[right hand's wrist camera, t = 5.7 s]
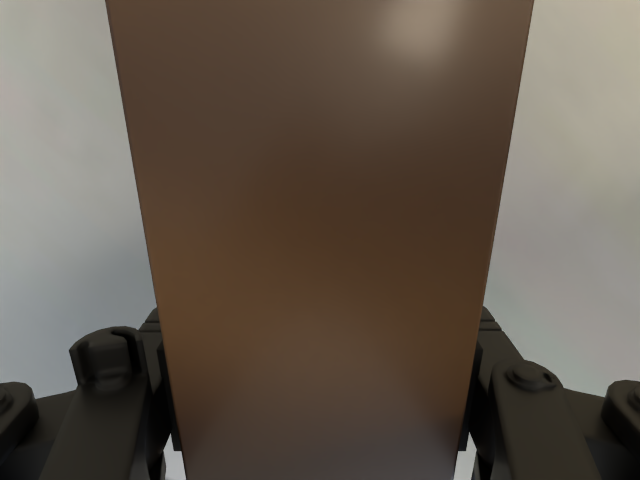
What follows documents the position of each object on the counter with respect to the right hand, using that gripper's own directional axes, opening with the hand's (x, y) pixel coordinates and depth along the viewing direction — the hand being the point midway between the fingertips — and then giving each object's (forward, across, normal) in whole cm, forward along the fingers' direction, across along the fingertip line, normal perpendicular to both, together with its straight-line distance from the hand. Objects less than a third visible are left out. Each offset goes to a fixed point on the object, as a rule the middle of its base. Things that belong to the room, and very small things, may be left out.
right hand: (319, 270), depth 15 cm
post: (0, 0, -26) cm, 26 cm away
